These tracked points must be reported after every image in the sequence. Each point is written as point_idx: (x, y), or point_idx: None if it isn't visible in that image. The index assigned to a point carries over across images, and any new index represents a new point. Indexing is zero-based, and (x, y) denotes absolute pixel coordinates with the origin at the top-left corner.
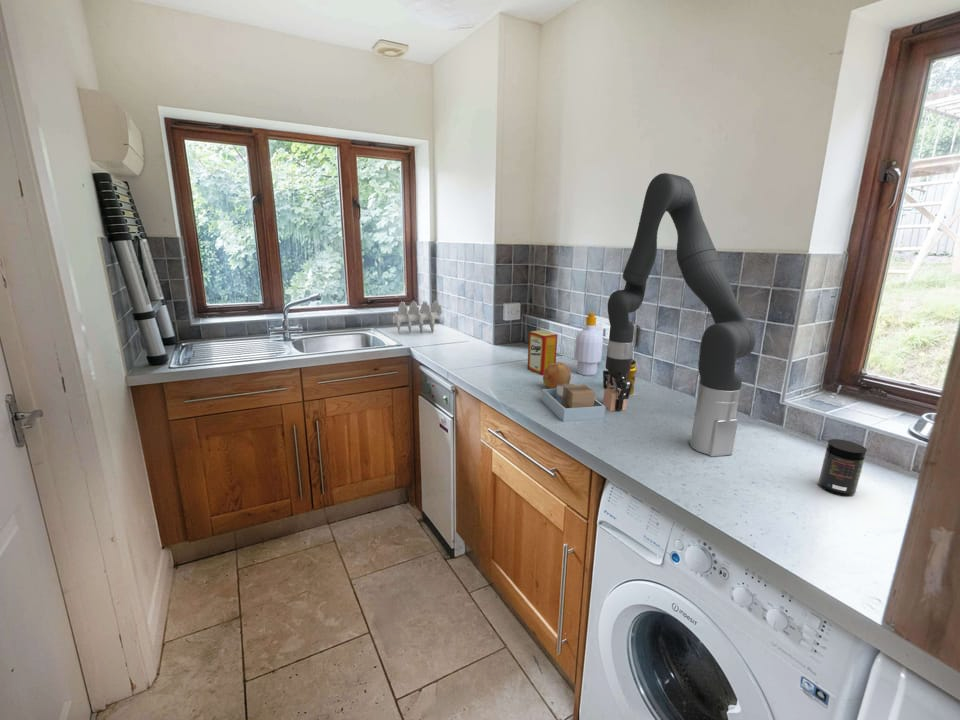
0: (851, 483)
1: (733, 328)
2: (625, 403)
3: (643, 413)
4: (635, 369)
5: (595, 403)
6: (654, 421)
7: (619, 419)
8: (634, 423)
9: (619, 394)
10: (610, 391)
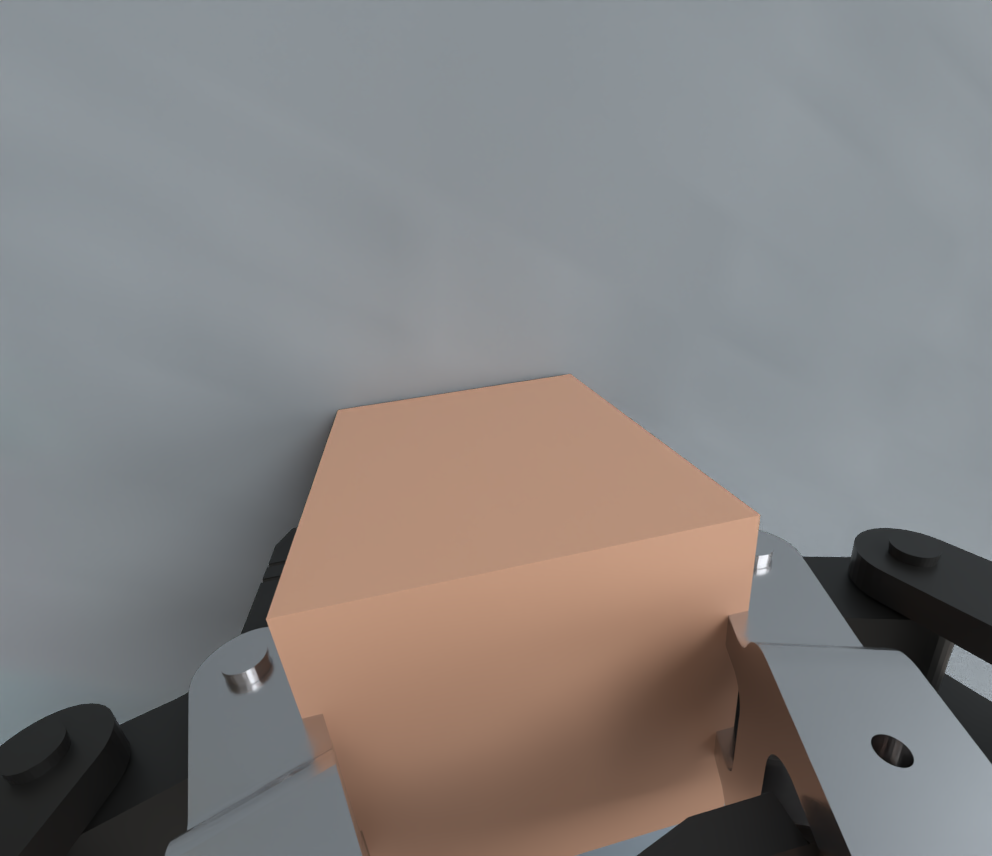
0: None
1: None
2: (625, 422)
3: (673, 98)
4: None
5: (655, 840)
6: (951, 96)
7: (762, 516)
8: (895, 398)
9: (727, 674)
10: (547, 826)
